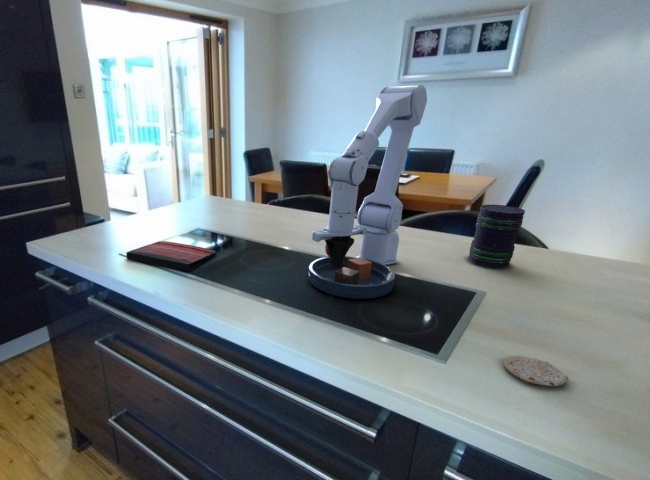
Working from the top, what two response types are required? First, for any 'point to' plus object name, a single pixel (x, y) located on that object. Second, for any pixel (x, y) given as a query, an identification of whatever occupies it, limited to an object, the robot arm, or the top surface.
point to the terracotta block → (360, 267)
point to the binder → (171, 255)
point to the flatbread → (534, 371)
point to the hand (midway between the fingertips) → (336, 265)
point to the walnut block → (347, 276)
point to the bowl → (366, 288)
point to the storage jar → (495, 236)
